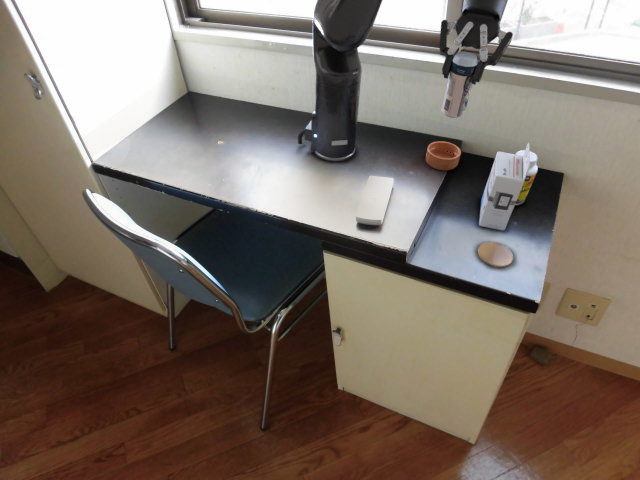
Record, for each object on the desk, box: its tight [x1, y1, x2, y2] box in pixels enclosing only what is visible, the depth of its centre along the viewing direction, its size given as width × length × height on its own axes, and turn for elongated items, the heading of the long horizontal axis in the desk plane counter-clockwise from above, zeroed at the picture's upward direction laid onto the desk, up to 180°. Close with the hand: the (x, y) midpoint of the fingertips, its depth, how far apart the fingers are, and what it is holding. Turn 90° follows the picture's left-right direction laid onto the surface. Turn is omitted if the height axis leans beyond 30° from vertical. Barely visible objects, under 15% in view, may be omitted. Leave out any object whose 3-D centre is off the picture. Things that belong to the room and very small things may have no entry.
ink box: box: [478, 142, 531, 231], centre depth 87 cm, size 9×5×15 cm, turn 163°
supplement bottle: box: [515, 149, 539, 206], centre depth 93 cm, size 6×6×10 cm
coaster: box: [477, 241, 514, 268], centre depth 84 cm, size 6×6×1 cm
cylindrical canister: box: [441, 51, 479, 119], centre depth 94 cm, size 5×5×12 cm
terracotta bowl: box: [424, 140, 462, 171], centre depth 105 cm, size 7×7×3 cm
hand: (459, 79), depth 91 cm, fingers closed on cylindrical canister, 4 cm apart
